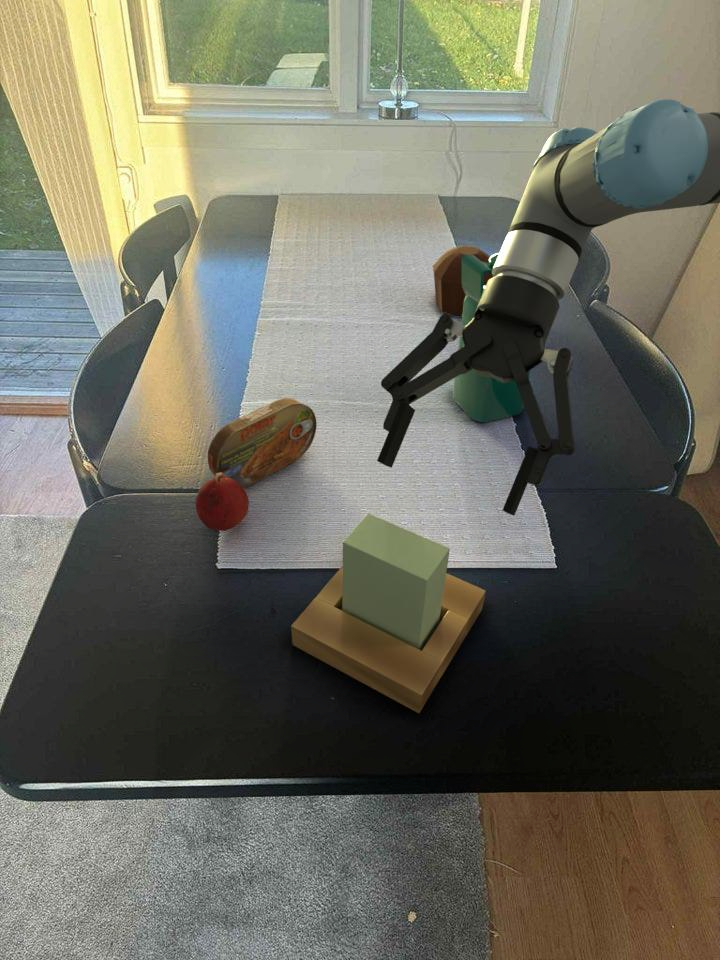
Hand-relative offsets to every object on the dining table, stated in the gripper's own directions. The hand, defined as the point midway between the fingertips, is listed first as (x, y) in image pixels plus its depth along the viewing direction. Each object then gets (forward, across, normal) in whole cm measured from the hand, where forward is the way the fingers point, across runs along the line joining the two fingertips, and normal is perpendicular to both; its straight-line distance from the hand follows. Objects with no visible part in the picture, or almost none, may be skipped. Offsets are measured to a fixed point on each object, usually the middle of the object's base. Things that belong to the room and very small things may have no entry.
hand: (443, 488), depth 69 cm
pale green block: (+15, 0, -1) cm, 15 cm away
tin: (+6, +26, -11) cm, 28 cm away
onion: (+13, +23, -3) cm, 27 cm away
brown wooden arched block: (-33, +24, -49) cm, 64 cm away
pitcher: (-14, +8, -30) cm, 35 cm away
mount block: (+15, 0, -1) cm, 15 cm away
